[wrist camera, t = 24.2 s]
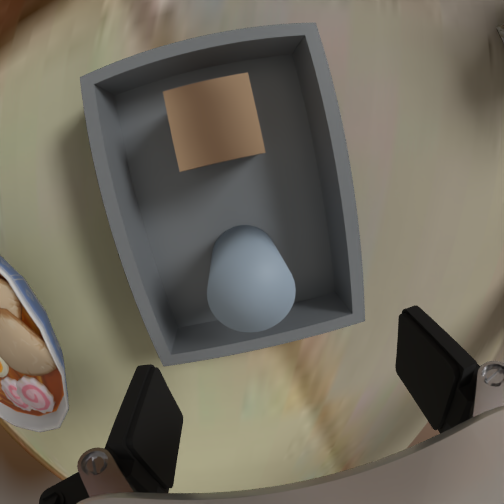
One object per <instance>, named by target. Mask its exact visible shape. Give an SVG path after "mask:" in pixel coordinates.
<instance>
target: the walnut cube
mask: <svg viewBox="0 0 504 504" xmlns="http://www.w3.org/2000/svg"><path fill="white" fill-rule="evenodd" d="M163 95H164V100H165V105H166V110H167V115H168V120H169V125H170V130H171V135H172V139H173V144H174V149H175V153H176V158H177V162H178V166H179V171H180V172H182V171H187V170H192V169H196V168H200V167H204V166H208V165H212V164H217V163H221V162H225V161H230V160H235V159H239V158H244V157H249V156H254V155H258V154H262V153H266V152H265V148H264V143H263V138H262V133H261V129H260V124H259V120H258V115H257V110H256V106H255V102H254V97H253V93H252V88H251V84H250V80H249V75H248V72H247V73H241V74H236V75H230V76H225V77H220V78H215V79H210V80H206V81H202V82H197V83H193V84H189V85H185V86H181V87H178V88H174V89H170V90H167V91H163Z"/></svg>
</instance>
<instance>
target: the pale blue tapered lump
mask: <svg viewBox="0 0 504 504" xmlns="http://www.w3.org/2000/svg"><path fill="white" fill-rule="evenodd" d="M295 293H296V289H295V282H294V279H293V276H292V274H291V272H290V271H289V269H288V267H287V265H286V264H285V262H284V260H283V258H282V257H281V255H280V253H279V251H278V250H277V248H276V246H275V244H274V243H273V241H272V239H271V238H270V236H269V235H268V234H267V233H266V232H264V231H263V230H261V229H260V228H257V227H255V226H251V225H239V226H235V227H232V228H230V229H228V230H226V231H225V232H224V233H222V234H221V235H220V236H219V238H218V239H217V241H216V243H215V245H214V247H213V252H212V259H211V266H210V273H209V280H208V287H207V300H208V304H209V307H210V309H211V311H212V313H213V314H214V316H215V317H216V318H217V319H218V320H219V321H220V322H221V323H222V324H223V325H225V326H227V327H228V328H231V329H233V330H236V331H240V332H249V333H250V332H259V331H263V330H266V329H269V328H271V327H273V326H275V325H276V324H278V323H279V322H280V321H282V320H283V319H284V318H285V317H286V315H287V314H288V313H289V311H290V310H291V308H292V306H293V303H294V300H295Z"/></svg>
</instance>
